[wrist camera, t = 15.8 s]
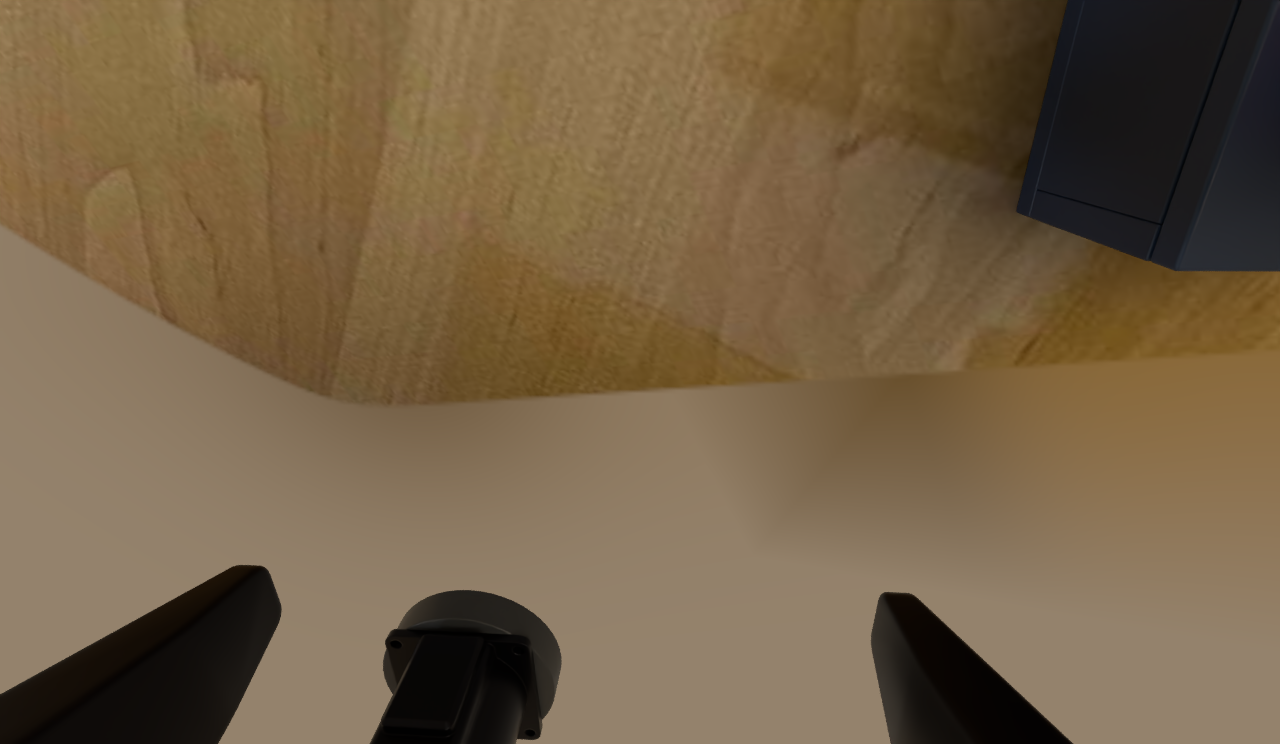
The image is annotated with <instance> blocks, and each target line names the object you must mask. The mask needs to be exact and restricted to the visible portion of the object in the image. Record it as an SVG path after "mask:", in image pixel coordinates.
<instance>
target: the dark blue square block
mask: <svg viewBox="0 0 1280 744" xmlns="http://www.w3.org/2000/svg"><path fill="white" fill-rule="evenodd" d="M1240 3H1241V0H1068V3H1067V7H1066V11H1065V15H1064V19H1063V23H1062V27H1061V31H1060V35H1059V39H1058V43H1057V47H1056V51H1055V56H1054V60H1053V64H1052V68H1051V72H1050V76H1049V80H1048V84H1047V88H1046V92H1045V96H1044V100H1043V104H1042V108H1041V113H1040V117H1039V121H1038V125H1037V129H1036V133H1035V137H1034V141H1033V145H1032V149H1031V153H1030V157H1029V161H1028V165H1027V170H1026V174H1025V178H1024V182H1023V186H1022V190H1021V194H1020V198H1019V202H1018V206H1017V210H1016V212H1017V213H1019V214H1022V215H1025V216H1027V217H1030V218H1033V219H1035V220H1038V221H1041V222H1043V223H1046V224H1049V225H1051V226H1054V227H1057V228H1059V229H1062V230H1065V231H1067V232H1070V233H1073V234H1076V235H1078V236H1081V237H1084V238H1086V239H1089V240H1092V241H1094V242H1097V243H1100V244H1102V245H1105V246H1108V247H1110V248H1113V249H1116V250H1119V251H1121V252H1124V253H1127V254H1129V255H1132V256H1135V257H1137V258H1140V259H1143V260H1145V261H1151V257H1152V254H1153V251H1154V249H1155V246H1156V243H1157V240H1158V237H1159V234H1160V231H1161V229H1162V226H1163V223H1164V220H1165V217H1166V214H1167V211H1168V209H1169V206H1170V203H1171V200H1172V197H1173V194H1174V192H1175V189H1176V186H1177V183H1178V180H1179V177H1180V174H1181V172H1182V169H1183V166H1184V163H1185V160H1186V157H1187V154H1188V152H1189V149H1190V146H1191V143H1192V140H1193V137H1194V134H1195V132H1196V129H1197V126H1198V123H1199V120H1200V117H1201V114H1202V112H1203V109H1204V106H1205V103H1206V100H1207V97H1208V94H1209V92H1210V89H1211V86H1212V83H1213V80H1214V77H1215V75H1216V72H1217V69H1218V66H1219V63H1220V60H1221V57H1222V55H1223V52H1224V49H1225V46H1226V43H1227V40H1228V37H1229V35H1230V32H1231V29H1232V26H1233V23H1234V20H1235V17H1236V15H1237V12H1238V9H1239V6H1240Z"/></svg>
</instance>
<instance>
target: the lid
mask: <svg viewBox="0 0 1280 744" xmlns="http://www.w3.org/2000/svg"><path fill="white" fill-rule="evenodd" d="M1151 261H1152V262H1153V263H1155V264H1158V265H1161V266H1164V267H1166V268H1169V269H1172V270H1174V271H1280V0H1241V3H1240V6H1239V9H1238V12H1237V15H1236V17H1235V20H1234V23H1233V26H1232V29H1231V32H1230V35H1229V37H1228V40H1227V43H1226V46H1225V49H1224V52H1223V55H1222V57H1221V60H1220V63H1219V66H1218V69H1217V72H1216V75H1215V77H1214V80H1213V83H1212V86H1211V89H1210V92H1209V94H1208V97H1207V100H1206V103H1205V106H1204V109H1203V112H1202V114H1201V117H1200V120H1199V123H1198V126H1197V129H1196V132H1195V134H1194V137H1193V140H1192V143H1191V146H1190V149H1189V152H1188V154H1187V157H1186V160H1185V163H1184V166H1183V169H1182V172H1181V174H1180V177H1179V180H1178V183H1177V186H1176V189H1175V192H1174V194H1173V197H1172V200H1171V203H1170V206H1169V209H1168V211H1167V214H1166V217H1165V220H1164V223H1163V226H1162V229H1161V231H1160V234H1159V237H1158V240H1157V243H1156V246H1155V249H1154V251H1153V254H1152V257H1151Z"/></svg>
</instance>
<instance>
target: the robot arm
mask: <svg viewBox="0 0 1280 744" xmlns="http://www.w3.org/2000/svg"><path fill="white" fill-rule="evenodd" d="M280 617H281V603H280V601H279V598H278V595H277V592H276V589H275V587H274V584H273V581H272V578H271V575H270V573H269V571H268V570H267V569H266V568H265V567H263V566H254V565H253V566H252V565H237V566H233V567H231V568H229V569H228V570H226V571H224V572H222V573H220V574H218V575H217V576H215V577H213V578H211V579H209V580H207V581H206V582H204V583H203V584H200V585H199V586H197V587H195V588H193V589H191V590H189V591H187V592H186V593H184V594H182V595H180V596H178V597H177V598H175V599H173V600H171V601H169V602H168V603H166V604H164V605H162V606H160V607H158V608H157V609H155V610H153V611H151V612H149V613H147V614H146V615H144V616H142V617H140V618H138V619H137V620H135V621H133V622H131V623H129V624H128V625H126V626H124V627H122V628H120V629H119V630H117V631H115V632H113V633H111V634H109V635H107V636H106V637H104V638H102V639H100V640H98V641H97V642H95V643H93V644H91V645H89V646H87V647H86V648H84V649H82V650H80V651H78V652H77V653H75V654H73V655H71V656H69V657H68V658H66V659H64V660H62V661H60V662H58V663H57V664H55V665H53V666H51V667H49V668H48V669H46V670H44V671H42V672H40V673H38V674H37V675H35V676H33V677H31V678H30V679H27V680H26V681H24V682H22V683H20V684H18V685H17V686H15V687H13V688H11V689H9V690H7V691H6V692H4V693H2V694H0V744H218V743H219V741H220V739H221V737H222V736H223V734H224V732H225V730H226V729H227V726H228V725H229V723H230V721H231V719H232V717H233V716H234V714H235V712H236V710H237V708H238V706H239V704H240V702H241V700H242V698H243V696H244V693H245V691H246V689H247V687H248V685H249V683H250V681H251V679H252V677H253V675H254V673H255V671H256V669H257V667H258V664H259V663H260V661H261V659H262V656H263V654H264V652H265V650H266V648H267V646H268V644H269V642H270V640H271V638H272V636H273V634H274V632H275V630H276V628H277V626H278V623H279V620H280ZM385 645H386V648H387V652H388V656H389V659H390V663H391V667H392V670H393V674H394V678H395V681H396V685H397V687H396V690H395V692H394V694H393V696H392V698H391V700H390V702H389V704H388V706H387V708H386V710H385V712H384V714H383V716H382V719H381V722H380V724H379V726H378V728H377V730H376V732H375V734H374V736H373V738H372V741H371V742H370V744H516V740H517V739H526V740H535V739H538V738H539V737H540V734H541V730H542V718H541V710H540V702H539V695H538V687H537V679H536V671H535V663H534V655H533V648H532V642H531V640H530V639H529V638H527V637H526V636H523V635H511V634H490V633H470V632H450V631H430V630H409V629H394V630H392V631H391V632H390V633H389V635H388V637H387V639H386V641H385ZM871 646H872V653H873V658H874V663H875V668H876V673H877V678H878V683H879V688H880V693H881V698H882V703H883V707H884V712H885V717H886V722H887V727H888V732H889V737H890V742H891V744H1073V743H1072V742H1071V741H1070V740H1069V739H1068V738H1066V737H1065V736H1064V735H1063V734H1062V733H1061V732H1060V731H1059V730H1058V729H1057V728H1056V727H1055V726H1054V725H1053V724H1051V723H1050V722H1049V721H1048V720H1047V719H1046V718H1045V717H1044V716H1043V715H1042V714H1041V713H1040V712H1039V711H1038V710H1037V709H1036V708H1034V707H1033V706H1032V705H1031V704H1030V703H1029V702H1028V701H1027V700H1026V699H1025V698H1024V697H1023V696H1022V695H1021V694H1019V693H1018V692H1017V691H1016V690H1015V689H1014V688H1013V687H1012V686H1011V685H1010V684H1009V683H1008V682H1007V681H1006V680H1004V679H1003V678H1002V677H1001V676H1000V675H999V674H998V673H997V672H996V671H995V670H994V669H993V668H992V667H991V666H989V665H988V664H987V663H986V662H985V661H984V660H983V659H982V658H981V657H980V656H979V655H978V654H976V652H975V651H973V650H972V649H971V648H970V647H969V646H968V645H967V644H966V643H965V642H964V641H963V640H962V639H961V638H960V637H959V636H957V635H956V634H955V633H954V632H953V631H952V630H951V629H950V628H949V627H948V626H947V625H946V624H945V623H944V622H942V621H941V620H940V619H939V618H938V617H937V616H936V615H935V614H934V613H933V612H932V611H931V610H929V608H928V607H926V606H925V605H924V604H923V603H922V602H921V601H920V600H919V599H918V598H917V597H915V596H914V595H912V594H910V593H893V592H885V593H883V594H881V596H880V597H879V600H878V605H877V609H876V614H875V619H874V624H873V629H872V634H871Z"/></svg>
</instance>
